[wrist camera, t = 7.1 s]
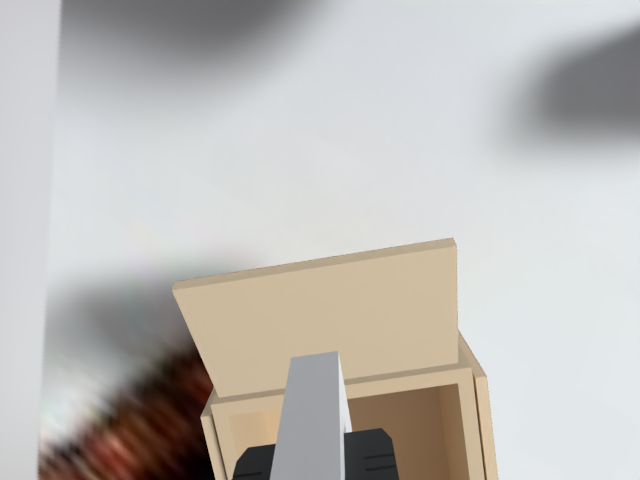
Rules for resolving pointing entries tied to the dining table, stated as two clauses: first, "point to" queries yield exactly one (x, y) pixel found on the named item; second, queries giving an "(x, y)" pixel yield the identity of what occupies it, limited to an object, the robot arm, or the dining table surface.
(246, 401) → the carton
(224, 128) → the dining table surface
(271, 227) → the dining table surface
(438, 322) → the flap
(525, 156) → the dining table surface
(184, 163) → the dining table surface
